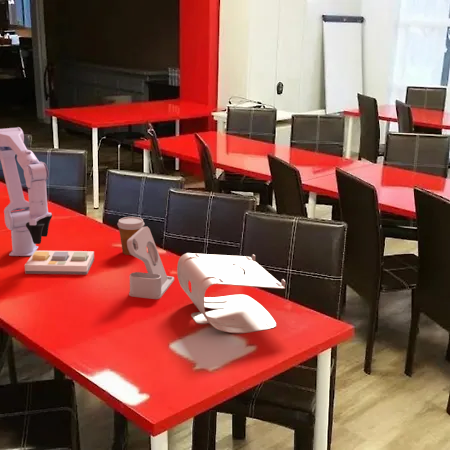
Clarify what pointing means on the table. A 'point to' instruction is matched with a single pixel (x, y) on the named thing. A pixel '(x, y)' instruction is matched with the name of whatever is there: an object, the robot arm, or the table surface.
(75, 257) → the key sage
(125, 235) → the disposable coffee cup
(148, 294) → the phone holder
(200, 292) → the portable electronic device stand
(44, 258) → the key ochre
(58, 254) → the key slate
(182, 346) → the table surface
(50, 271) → the keyguard panel
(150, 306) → the table surface
